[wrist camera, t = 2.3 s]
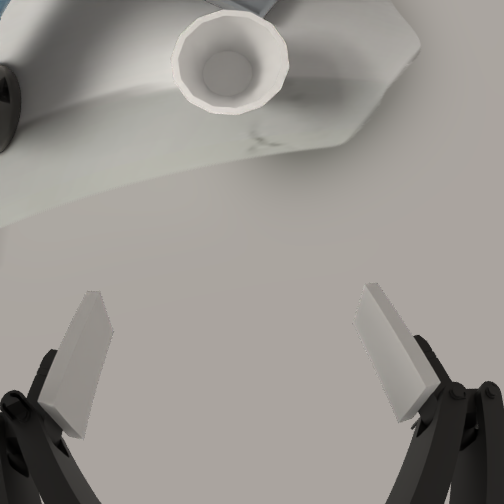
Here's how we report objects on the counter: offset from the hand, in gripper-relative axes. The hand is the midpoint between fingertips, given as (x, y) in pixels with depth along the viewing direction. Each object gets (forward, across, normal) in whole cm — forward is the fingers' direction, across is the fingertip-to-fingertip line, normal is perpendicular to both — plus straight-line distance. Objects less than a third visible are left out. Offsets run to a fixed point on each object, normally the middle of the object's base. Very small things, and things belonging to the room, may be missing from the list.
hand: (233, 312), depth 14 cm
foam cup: (+27, 0, +13) cm, 30 cm away
